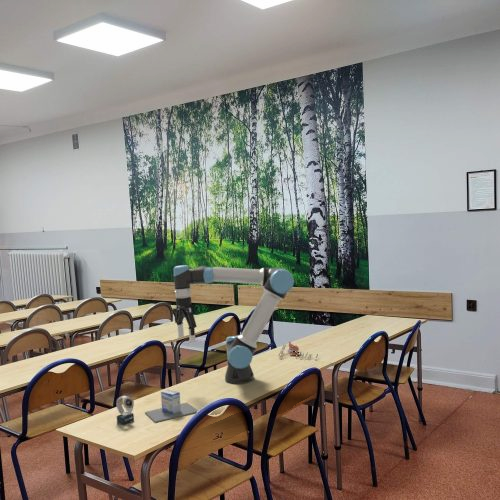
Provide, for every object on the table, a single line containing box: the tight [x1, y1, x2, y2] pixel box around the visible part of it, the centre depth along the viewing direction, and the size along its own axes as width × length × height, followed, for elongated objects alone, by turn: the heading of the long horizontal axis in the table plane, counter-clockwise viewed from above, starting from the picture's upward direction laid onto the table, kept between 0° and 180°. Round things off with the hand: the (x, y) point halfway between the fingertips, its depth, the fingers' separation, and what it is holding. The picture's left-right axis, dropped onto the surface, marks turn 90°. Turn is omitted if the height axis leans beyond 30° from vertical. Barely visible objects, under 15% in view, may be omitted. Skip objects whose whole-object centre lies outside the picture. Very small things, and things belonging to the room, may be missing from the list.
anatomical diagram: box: [278, 341, 319, 359], centre depth 317 cm, size 21×9×25 cm
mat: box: [144, 402, 199, 423], centre depth 232 cm, size 20×14×1 cm
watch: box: [116, 395, 135, 426], centre depth 224 cm, size 6×8×11 cm
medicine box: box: [160, 389, 181, 414], centre depth 233 cm, size 8×4×9 cm, turn 50°
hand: (186, 339), depth 260 cm, fingers open, 13 cm apart
